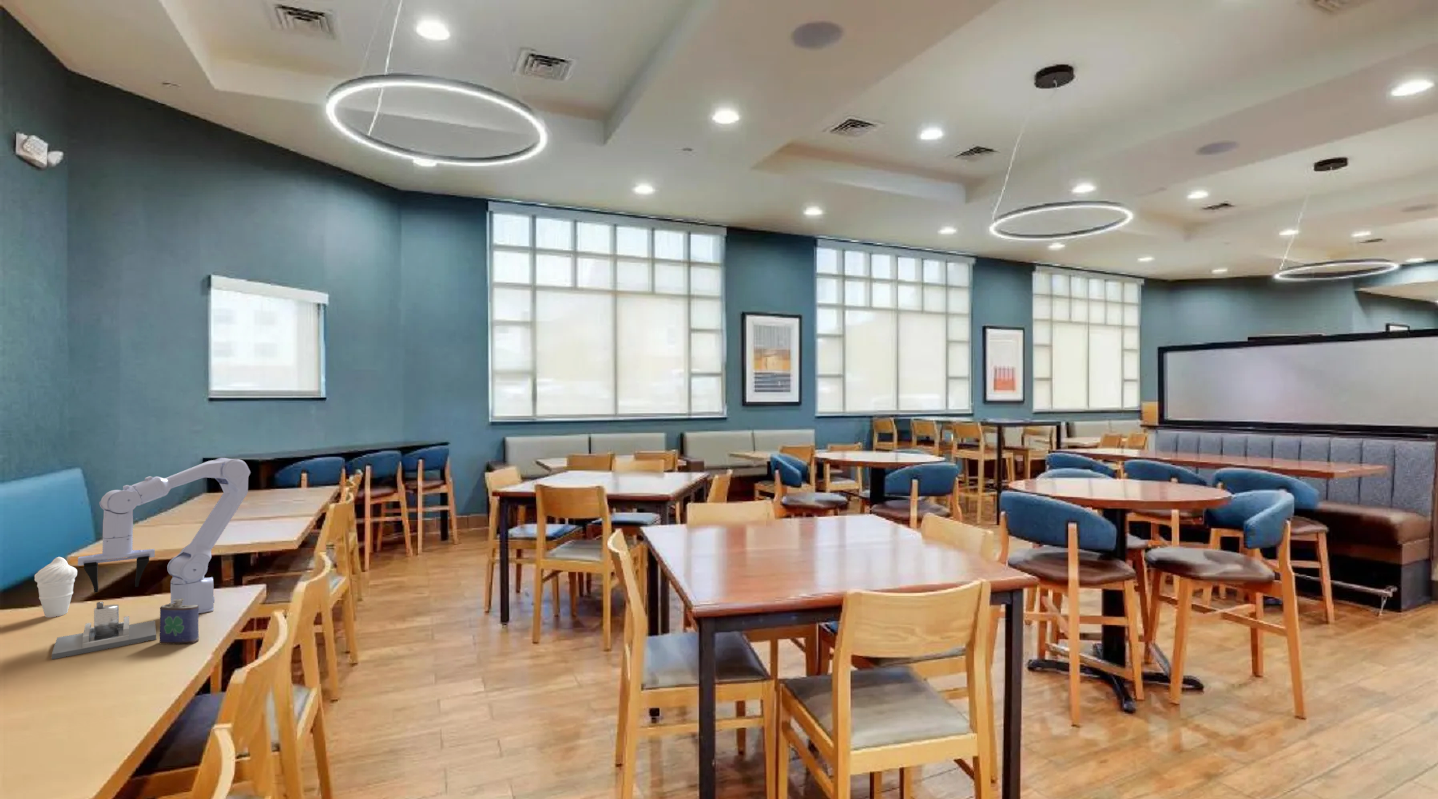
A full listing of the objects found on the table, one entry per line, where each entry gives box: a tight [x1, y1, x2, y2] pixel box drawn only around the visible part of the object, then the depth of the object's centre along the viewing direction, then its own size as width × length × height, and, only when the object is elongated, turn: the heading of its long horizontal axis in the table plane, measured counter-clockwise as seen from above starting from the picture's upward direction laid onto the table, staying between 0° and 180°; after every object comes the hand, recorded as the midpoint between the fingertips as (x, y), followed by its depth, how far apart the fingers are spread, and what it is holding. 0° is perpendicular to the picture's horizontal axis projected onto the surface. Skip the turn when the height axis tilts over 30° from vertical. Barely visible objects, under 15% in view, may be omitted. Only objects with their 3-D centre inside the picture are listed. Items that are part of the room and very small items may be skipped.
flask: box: [159, 598, 200, 645], centre depth 157 cm, size 9×3×11 cm, turn 88°
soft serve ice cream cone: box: [34, 556, 78, 618], centre depth 177 cm, size 8×8×16 cm
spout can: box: [93, 601, 120, 639], centre depth 158 cm, size 4×4×8 cm
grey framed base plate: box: [51, 616, 157, 660], centre depth 158 cm, size 18×14×4 cm
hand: (116, 588), depth 166 cm, fingers open, 7 cm apart
